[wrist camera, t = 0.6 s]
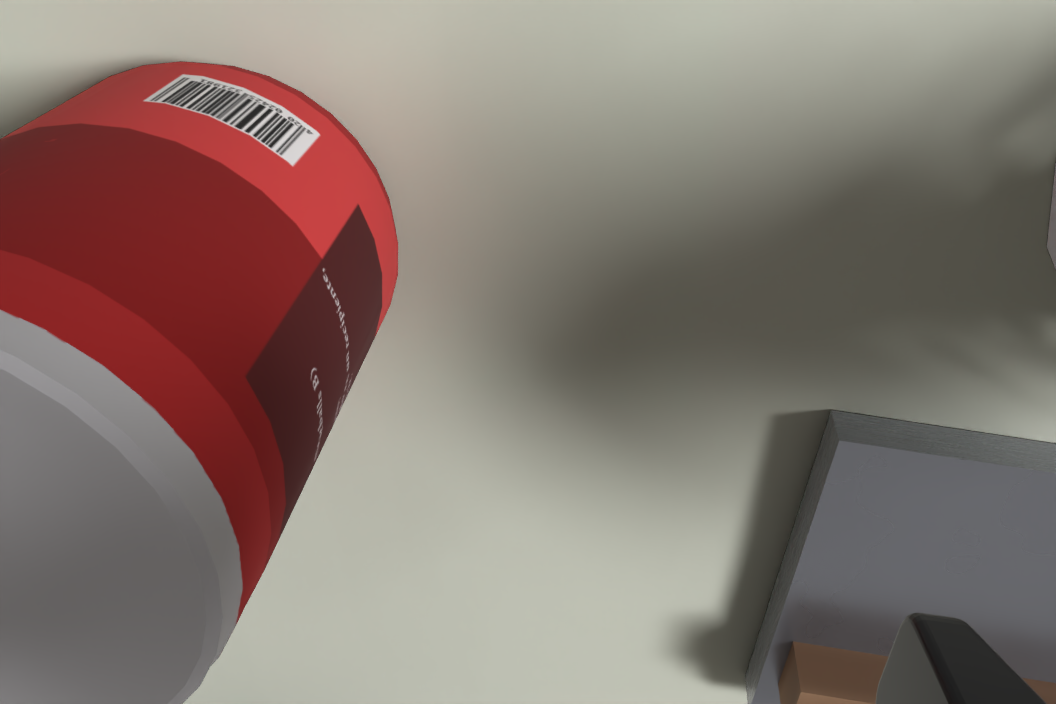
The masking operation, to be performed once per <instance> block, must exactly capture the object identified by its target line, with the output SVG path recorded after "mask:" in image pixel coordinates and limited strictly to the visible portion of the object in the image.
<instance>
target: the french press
mask: <svg viewBox="0 0 1056 704" xmlns="http://www.w3.org/2000/svg"><path fill="white" fill-rule="evenodd" d="M1047 249H1048V252H1049V254H1050V256H1051V259H1052V261H1053V264H1054V266H1055V269H1056V165H1055V174H1054V183H1053V193H1052V202H1051V212H1050V221H1049V231H1048V240H1047Z"/></svg>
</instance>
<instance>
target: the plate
mask: <svg viewBox="0 0 1056 704" xmlns="http://www.w3.org/2000/svg"><path fill="white" fill-rule="evenodd" d="M912 613H925V614H932V615H940V616H947V617H955V618H958V619H961V620H963V621H965V622H966V623H967V624H969V625H970V626H971V627H972V628H973V629H974V630H975V631H976V632H977V633H978V634H979V635H980V636H981V637H982V638H983V639H984V640H985V641H986V642H987V643H988V644H989V645H990V646H991V647H992V648H993V649H994V650H995V651H996V652H997V653H998V654H999V655H1000V656H1001V657H1002V658H1003V659H1004V660H1005V661H1006V663H1007V664H1008V665H1009V666H1010V667H1011V668H1012V669H1013V670H1014V671H1015V672H1016V673H1017V674H1018V675H1019V676H1020V677H1021V678H1027V679H1033V680H1039V681H1046V682H1052V683H1056V444H1054V443H1047V442H1040V441H1034V440H1027V439H1020V438H1014V437H1007V436H1000V435H994V434H987V433H980V432H974V431H967V430H961V429H954V428H947V427H941V426H934V425H927V424H921V423H914V422H907V421H901V420H894V419H887V418H881V417H874V416H867V415H861V414H854V413H847V412H841V411H834V410H831V412H830V415H829V418H828V421H827V424H826V427H825V431H824V434H823V437H822V440H821V443H820V446H819V449H818V452H817V455H816V458H815V462H814V465H813V468H812V471H811V474H810V477H809V480H808V483H807V486H806V489H805V493H804V496H803V499H802V502H801V505H800V508H799V511H798V514H797V517H796V520H795V524H794V527H793V530H792V533H791V536H790V539H789V542H788V545H787V548H786V551H785V555H784V558H783V561H782V564H781V567H780V570H779V573H778V576H777V579H776V582H775V586H774V589H773V592H772V595H771V598H770V601H769V604H768V607H767V610H766V613H765V617H764V620H763V623H762V626H761V629H760V632H759V635H758V638H757V641H756V644H755V648H754V651H753V654H752V657H751V660H750V663H749V666H748V669H747V672H746V675H745V680H746V690H747V700H748V704H781V703H780V695H779V688H778V683H779V680H780V677H781V674H782V672H783V669H784V666H785V663H786V660H787V657H788V654H789V651H790V649H791V646H792V643H793V641H794V642H801V643H807V644H813V645H820V646H826V647H832V648H838V649H845V650H851V651H857V652H864V653H870V654H876V655H882V656H889V654H890V652H891V649H892V646H893V644H894V641H895V638H896V636H897V633H898V630H899V628H900V626H901V623H902V622H903V620H904V619H905V618H906V617H907V616H908V615H910V614H912Z"/></svg>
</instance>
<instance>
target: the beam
mask: <svg viewBox="0 0 1056 704" xmlns="http://www.w3.org/2000/svg"><path fill="white" fill-rule="evenodd" d="M888 657H889V656H882V655H876V654H870V653H864V652H857V651H851V650H845V649H838V648H832V647H826V646H820V645H813V644H807V643H801V642H794V641H793V643H792V646H791V649H790V651H789V654H788V657H787V660H786V663H785V666H784V669H783V672H782V674H781V677H780V680H779V683H778V688H779V695H780V703H781V704H876V694H877V688H878V684H879V681H880V678H881V675H882V673H883V670H884V668H885V665H886V662H887V660H888ZM1022 679H1023V680H1024V681H1025V682H1026V683H1027V684H1028V685H1029V686H1030V687H1031V688H1032V689H1033V690H1034V691H1035V692H1036V693H1037V694H1038V695H1039V696H1040V697H1041V698H1042V699H1043V700H1044V701H1045V702H1046V703H1047V704H1056V683H1052V682H1046V681H1039V680H1033V679H1027V678H1022Z"/></svg>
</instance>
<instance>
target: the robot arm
mask: <svg viewBox="0 0 1056 704" xmlns="http://www.w3.org/2000/svg"><path fill="white" fill-rule="evenodd" d="M876 704H1047V703H1046V702H1045V701H1044V700H1043V699H1042V698H1041V697H1040V696H1039V695H1038V694H1037V693H1036V692H1035V691H1034V690H1033V689H1032V688H1031V687H1030V686H1029V685H1028V684H1027V683H1026V682H1025V681H1024V680H1023V679H1022V678H1021V677H1020V676H1019V675H1018V674H1017V673H1016V672H1015V671H1014V670H1013V669H1012V668H1011V667H1010V666H1009V665H1008V664H1007V663H1006V661H1005V660H1004V659H1003V658H1002V657H1001V656H1000V655H999V654H998V653H997V652H996V651H995V650H994V649H993V648H992V647H991V646H990V645H989V644H988V643H987V642H986V641H985V640H984V639H983V638H982V637H981V636H980V635H979V634H978V633H977V632H976V631H975V630H974V629H973V628H972V627H971V626H970V625H969V624H967V623H966V622H965V621H963V620H961V619H958V618H955V617H947V616H940V615H932V614H925V613H912V614H910V615H908V616H907V617H906V618H905V619H904V620H903V622H902V623H901V626H900V628H899V630H898V633H897V636H896V638H895V641H894V644H893V646H892V649H891V652H890V654H889V657H888V660H887V662H886V665H885V668H884V670H883V673H882V675H881V678H880V681H879V684H878V688H877V694H876Z"/></svg>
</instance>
